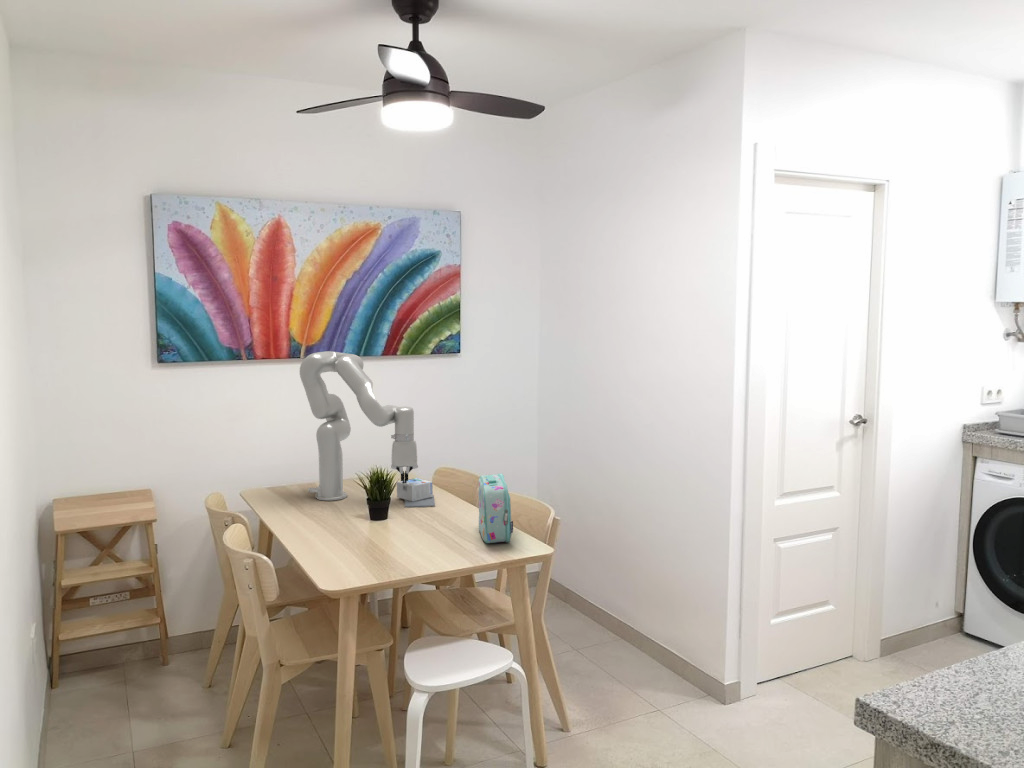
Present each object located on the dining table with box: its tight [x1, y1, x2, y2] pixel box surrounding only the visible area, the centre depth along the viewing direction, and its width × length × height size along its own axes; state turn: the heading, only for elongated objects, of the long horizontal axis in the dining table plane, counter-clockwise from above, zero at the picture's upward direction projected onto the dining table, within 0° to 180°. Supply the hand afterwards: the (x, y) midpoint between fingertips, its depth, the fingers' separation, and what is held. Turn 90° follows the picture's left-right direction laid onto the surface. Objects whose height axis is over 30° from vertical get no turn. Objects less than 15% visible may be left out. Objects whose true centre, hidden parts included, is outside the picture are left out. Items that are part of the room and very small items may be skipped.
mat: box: [404, 494, 436, 508], centre depth 317 cm, size 12×16×1 cm
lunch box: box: [478, 473, 514, 544], centre depth 271 cm, size 27×10×21 cm, turn 8°
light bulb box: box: [396, 477, 434, 502], centre depth 321 cm, size 11×7×11 cm
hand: (404, 482), depth 315 cm, fingers closed
